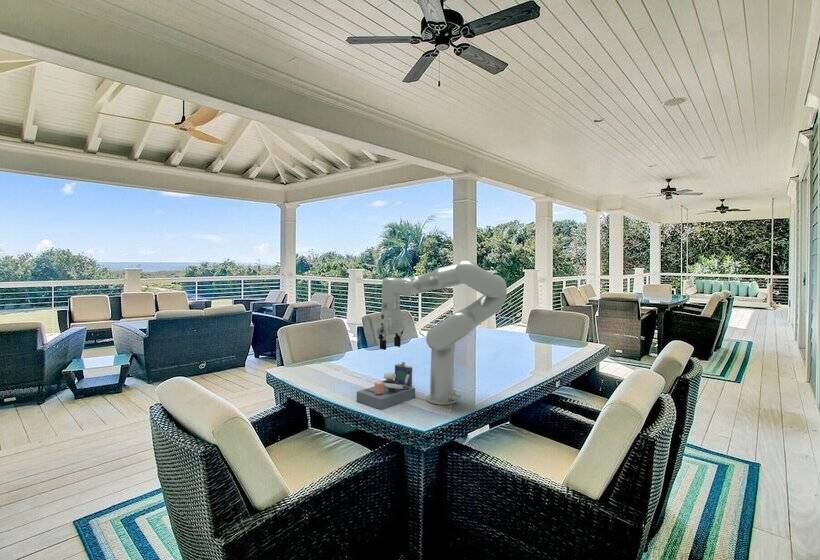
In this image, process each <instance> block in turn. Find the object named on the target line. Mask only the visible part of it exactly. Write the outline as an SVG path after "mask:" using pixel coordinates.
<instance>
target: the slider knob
mask: <svg viewBox="0 0 820 560" xmlns="http://www.w3.org/2000/svg"><path fill="white" fill-rule="evenodd" d="M374 386H375V393H376V394H382V393H384V382H381V381H378V382H374Z"/></svg>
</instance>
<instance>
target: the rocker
mask: <svg viewBox="0 0 820 560" xmlns="http://www.w3.org/2000/svg"><path fill="white" fill-rule="evenodd" d="M384 386H386V387H390V388H402V389H403V386H401V385H397V384H389V383H384Z"/></svg>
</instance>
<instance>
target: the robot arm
mask: <svg viewBox="0 0 820 560" xmlns="http://www.w3.org/2000/svg"><path fill="white" fill-rule="evenodd" d="M381 283H382V284H381V285H382V289H381V305H380V307H381V310H380V316H379V326H378V327H377V328H376V329H375V330H374V332H375V334H376V336H377V338H378V340H379V349H380V350H384V351H386V350H387V340H386V339H387V336H388V335H391V336H392V335H394V338H393V344H394V345H393V346H394V347H396V348H397V347H398V348H401V341H402V340H401V338H402V337H403V336H402V335H403V334H404V331H405V328H406V327H405V326H404V324H403V314H402V309H401V308H400V306H401V305H400V304H401V296H405V297H407V296H408V297H410V296H413V295H416V294H421V293H425V292H429V291H433V290H442V289H446V288H451V287H454V286H455V287H456V286H459V285H463V284H464V285H465V286H468V287H470V288H471V289H473V290H475V291H476V292H478V293H480V294H482V295H481V296H480V297H479V298H477V299H476V300H474V301H473V302H472V303H470V304H469V305H468V306H466V307H464V308H462V309H460V310H457V311H455V312H454V313H452V314H451V315H449V316H448V317H446V318H445V319H443V320H441V322H439V323H437V324H435V325H434V326H433V327H431V328H429V330H428V331H427V332H426V337H425V340H426V345H428V347H429V348H430V384H429V385H430V387H429V388H430V390H429V394H427V395H426V401H427V402H428V403H430V404H434V405H439V406H449V405H453V404H456V403H457V402H460V401H461V398H462V396H461V394H457V392H456V391H457V390H456V389H454V387H455V386H454V384H455V383H454V382H455V380H454V379H455V377H454V376H455V351H456V343H457V342H458V341H460V340H462V339H463V338H465V337H466V336H467V335H470V334H471V333H472V331H473V330H474V329H475V328H476V327H478V326H479V325H481V324H482V323H484V322H485V321H487V320H488V319H489V318H491V317H492V316H494V315H495V314H496V313H497V312H498V311H500V310H501V308H502V307H503V306H504V304H505V302H506V299H507V295H508V294H507V293H508V288H507V283H506V280H505V279H504V277H502V276H501V275H499V274H494V273H492V272H490V271H488V270H486V269H484V268H482V267H481V266H479V265H478V264H477V263H476V262H475V261H473V260H462V261H460V262H457V263H453V264H449V265H446V266H442V267H441V266H440V267H438V268H435V269H434V270H433V271H430V272H427V273H423V274H419V275H415V276H410V277H400V278H398V277H392V276H391V277H384V278H383V279H382V281H381Z"/></svg>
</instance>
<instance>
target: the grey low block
mask: <svg viewBox="0 0 820 560" xmlns="http://www.w3.org/2000/svg"><path fill="white" fill-rule="evenodd" d="M380 382H384V383H389V384H397V385H401V386H403V389H402V388H390V387H386V386H384V393H382V394H376V393H375V385H374V386H371V387H368V388H365V389H364V388H363V389H360V390H356V402H357V403H360V404H363V405H366V406H369V407H372V408H375V409H378V410H381V411H382V410H384V409H387V408H390V407H393V406H396V405H398V404H402V403H405V402H407V401H410V400H412V399H415V398H416V387H413V386H411V387H409V386H406V387H404V385H402V384H399V381H395V380H394V379H393V382H387V381H386V379H385V380H381V381H380Z"/></svg>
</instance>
